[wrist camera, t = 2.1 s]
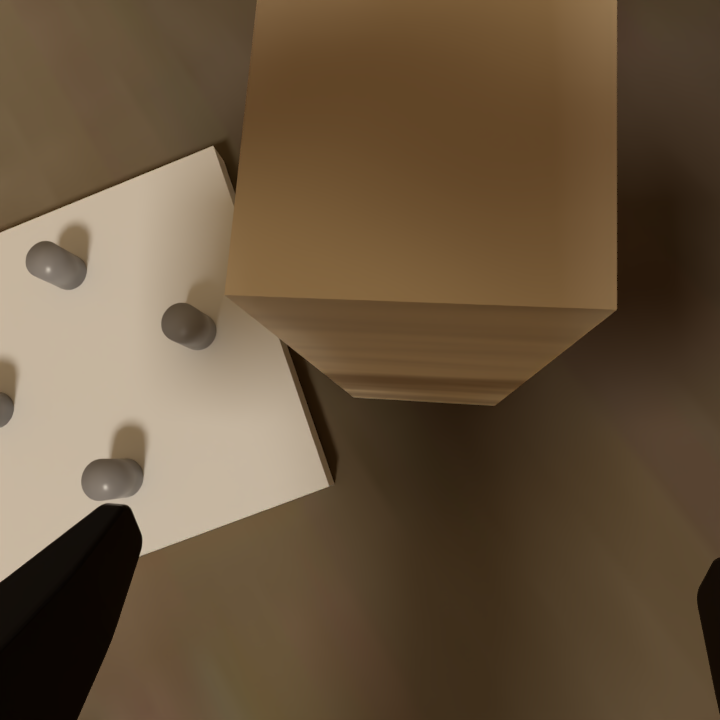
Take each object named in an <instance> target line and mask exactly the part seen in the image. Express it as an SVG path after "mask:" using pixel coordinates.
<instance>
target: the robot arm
mask: <svg viewBox="0 0 720 720" xmlns="http://www.w3.org/2000/svg"><path fill="white" fill-rule="evenodd" d="M142 541H143V540H142V534H141V531H140V529H139V526H138V524H137V521H136V519H135V516H134V514H133V511H132V509H131V508H130V507H129V506H128V505H125V504H115V503H105V504H102V505H100V506H99V507H97V508H96V509H95V510H93V511H92V512H91V513H89V514H88V515H87V516H86V517H84V518H83V519H82V520H80V521H79V522H78V523H76V524H75V525H74V526H73V527H71V528H70V529H69V530H67V531H66V532H65V533H63V534H62V535H61V536H60V537H58V538H57V539H56V540H54V541H53V542H52V543H50V544H49V545H48V546H47V547H45V548H44V549H43V550H41V551H40V552H39V553H37V554H36V555H35V556H34V557H32V558H31V559H30V560H28V561H27V562H26V563H25V564H23V565H22V566H21V567H19V568H18V569H17V570H15V571H14V572H13V573H12V574H10V575H9V576H8V577H6V578H5V579H4V580H2V581H1V582H0V720H77V719H78V717H79V714H80V712H81V710H82V707H83V705H84V703H85V701H86V698H87V696H88V694H89V692H90V689H91V687H92V685H93V682H94V680H95V678H96V676H97V673H98V671H99V669H100V666H101V664H102V662H103V660H104V657H105V655H106V653H107V650H108V648H109V645H110V643H111V641H112V638H113V635H114V632H115V629H116V627H117V624H118V621H119V617H120V614H121V611H122V608H123V605H124V602H125V599H126V596H127V593H128V590H129V586H130V583H131V580H132V577H133V574H134V571H135V568H136V565H137V562H138V559H139V556H140V552H141V549H142ZM697 604H698V610H699V615H700V620H701V625H702V630H703V635H704V640H705V645H706V650H707V655H708V660H709V665H710V670H711V675H712V680H713V685H714V690H715V695H716V700H717V704H718V708H719V713H720V558H717V559H715V560H714V561H713V563H712V564H711V566H710V568H709V570H708V572H707V574H706V576H705V578H704V579H703V581H702V583H701V585H700V587H699V589H698V594H697Z"/></svg>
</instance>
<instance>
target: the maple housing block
mask: <svg viewBox="0 0 720 720" xmlns="http://www.w3.org/2000/svg"><path fill="white" fill-rule="evenodd" d="M224 295H225V296H226V297H227V298H229V299H230V300H231V301H233V302H234V303H235V304H236V305H238V306H239V307H240V308H241V309H243V310H244V311H245V312H246V313H248V314H249V315H250V316H251V317H253V318H254V319H255V320H257V321H258V322H259V323H260V324H262V325H263V326H264V327H265V328H267V329H268V330H269V331H270V332H272V333H273V334H274V335H275V336H277V337H278V338H279V339H281V340H282V341H283V342H284V343H286V344H287V345H288V346H289V347H291V348H292V349H293V350H294V351H296V352H297V353H298V354H299V355H301V356H302V357H303V358H305V359H306V360H307V361H308V362H310V363H311V364H312V365H313V366H315V367H316V368H317V369H318V370H320V371H321V372H322V373H324V374H325V375H326V376H327V377H329V378H330V379H331V380H332V381H334V382H335V383H336V384H337V385H339V386H340V387H341V388H342V389H344V390H345V391H346V392H348V393H349V394H350V395H351V396H353V397H354V398H370V399H387V400H404V401H421V402H438V403H454V404H471V405H488V406H495V405H496V404H498V403H499V402H500V401H501V400H503V399H504V398H505V397H507V396H508V395H509V394H510V393H512V392H513V391H514V390H515V389H517V388H518V387H519V386H521V385H522V384H523V383H524V382H526V381H527V380H528V379H529V378H531V377H532V376H533V375H535V374H536V373H537V372H538V371H540V370H541V369H542V368H543V367H545V366H546V365H547V364H549V363H550V362H551V361H552V360H554V359H555V358H556V357H557V356H559V355H560V354H561V353H563V352H564V351H565V350H566V349H568V348H569V347H570V346H571V345H573V344H574V343H575V342H577V341H578V340H579V339H580V338H582V337H583V336H584V335H585V334H587V333H588V332H589V331H591V330H592V329H593V328H594V327H596V326H597V325H598V324H599V323H601V322H602V321H603V320H605V319H606V318H607V317H608V316H610V315H611V314H612V313H613V312H615V311H616V310H617V0H257V6H256V15H255V24H254V33H253V42H252V51H251V60H250V69H249V78H248V87H247V96H246V105H245V114H244V123H243V132H242V141H241V150H240V159H239V168H238V177H237V186H236V194H235V203H234V212H233V221H232V230H231V239H230V248H229V257H228V266H227V275H226V284H225V293H224Z"/></svg>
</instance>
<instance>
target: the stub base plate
mask: <svg viewBox="0 0 720 720" xmlns="http://www.w3.org/2000/svg"><path fill="white" fill-rule="evenodd" d="M234 203H235V192H234V189H233V186H232V183H231V180H230V177H229V174H228V172H227V169H226V166H225V163H224V160H223V159H222V158H221V156H220V155H219V153H218V152H217V150H216V149H215V148H214V146H211V147H209V148H207V149H204V150H202V151H199V152H197V153H194V154H192V155H189V156H187V157H184V158H182V159H180V160H177V161H175V162H172V163H170V164H167V165H165V166H162V167H160V168H157V169H155V170H153V171H150V172H148V173H145V174H143V175H140V176H138V177H135V178H133V179H130V180H128V181H126V182H123V183H121V184H118V185H116V186H113V187H111V188H108V189H106V190H103V191H101V192H99V193H96V194H94V195H91V196H89V197H86V198H84V199H81V200H79V201H76V202H74V203H72V204H69V205H67V206H64V207H62V208H59V209H57V210H54V211H52V212H49V213H47V214H45V215H42V216H40V217H37V218H35V219H32V220H30V221H27V222H25V223H22V224H20V225H18V226H15V227H13V228H10V229H8V230H5V231H3V232H0V582H1V581H2V580H4V579H5V578H6V577H8V576H9V575H10V574H12V573H13V572H14V571H15V570H17V569H18V568H19V567H21V566H22V565H23V564H25V563H26V562H27V561H28V560H30V559H31V558H32V557H34V556H35V555H36V554H37V553H39V552H40V551H41V550H43V549H44V548H45V547H47V546H48V545H49V544H50V543H52V542H53V541H54V540H56V539H57V538H58V537H60V536H61V535H62V534H63V533H65V532H66V531H67V530H69V529H70V528H71V527H73V526H74V525H75V524H76V523H78V522H79V521H80V520H82V519H83V518H84V517H86V516H87V515H88V514H89V513H91V512H92V511H93V510H95V509H96V508H97V507H99V506H100V505H102V504H105V503H115V504H125V505H128V506H129V507H130V508H131V509H132V511H133V514H134V516H135V519H136V521H137V524H138V526H139V529H140V531H141V534H142V540H143V541H142V549H141V552H140V556H142V555H145V554H148V553H150V552H153V551H156V550H158V549H161V548H164V547H167V546H169V545H172V544H175V543H177V542H180V541H183V540H186V539H188V538H191V537H194V536H196V535H199V534H202V533H205V532H207V531H210V530H213V529H215V528H218V527H221V526H224V525H226V524H229V523H232V522H234V521H237V520H240V519H243V518H245V517H248V516H251V515H253V514H256V513H259V512H262V511H264V510H267V509H270V508H272V507H275V506H278V505H281V504H283V503H286V502H289V501H291V500H294V499H297V498H300V497H302V496H305V495H308V494H310V493H313V492H316V491H319V490H321V489H324V488H327V487H329V486H332V485H335V484H334V481H333V478H332V475H331V472H330V469H329V466H328V463H327V461H326V458H325V455H324V452H323V449H322V446H321V443H320V440H319V437H318V434H317V431H316V428H315V425H314V423H313V420H312V417H311V414H310V411H309V408H308V405H307V402H306V399H305V396H304V393H303V390H302V388H301V385H300V382H299V379H298V376H297V373H296V370H295V367H294V364H293V361H292V358H291V355H290V353H289V350H288V347H287V344H286V343H284V342H283V341H282V340H281V339H279V338H278V337H277V336H275V335H274V334H273V333H272V332H270V331H269V330H268V329H267V328H265V327H264V326H263V325H262V324H260V323H259V322H258V321H257V320H255V319H254V318H253V317H251V316H250V315H249V314H248V313H246V312H245V311H244V310H243V309H241V308H240V307H239V306H238V305H236V304H235V303H234V302H233V301H231V300H230V299H229V298H227V297H226V296H225V295H224V293H225V284H226V275H227V266H228V257H229V248H230V239H231V230H232V221H233V212H234ZM140 556H139V557H140Z"/></svg>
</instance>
